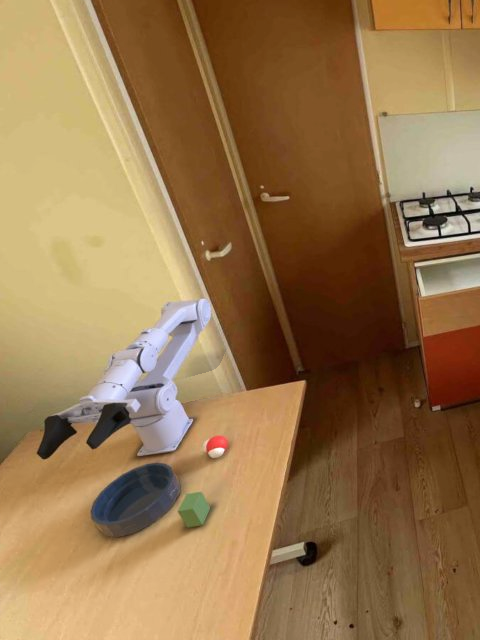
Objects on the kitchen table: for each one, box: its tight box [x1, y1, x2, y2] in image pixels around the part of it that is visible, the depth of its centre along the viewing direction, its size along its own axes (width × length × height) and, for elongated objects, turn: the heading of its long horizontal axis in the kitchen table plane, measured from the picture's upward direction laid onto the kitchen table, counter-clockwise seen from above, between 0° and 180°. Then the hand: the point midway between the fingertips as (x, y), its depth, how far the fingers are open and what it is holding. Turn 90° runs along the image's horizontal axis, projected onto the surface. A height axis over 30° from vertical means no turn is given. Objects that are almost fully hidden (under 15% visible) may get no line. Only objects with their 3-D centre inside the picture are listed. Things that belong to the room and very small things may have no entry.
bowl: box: [89, 462, 181, 538], centre depth 87 cm, size 13×13×4 cm
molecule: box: [202, 435, 229, 459], centre depth 98 cm, size 5×5×4 cm
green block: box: [177, 491, 211, 528], centre depth 85 cm, size 4×3×6 cm
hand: (66, 450), depth 75 cm, fingers open, 7 cm apart
